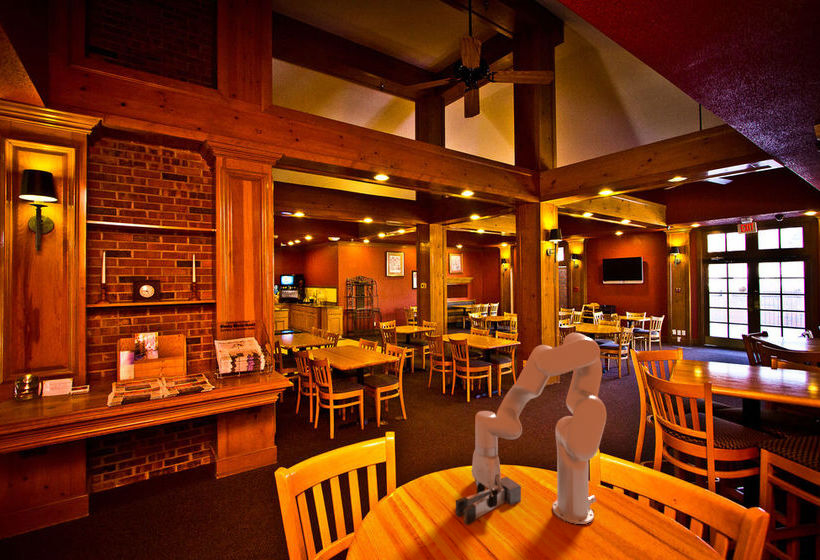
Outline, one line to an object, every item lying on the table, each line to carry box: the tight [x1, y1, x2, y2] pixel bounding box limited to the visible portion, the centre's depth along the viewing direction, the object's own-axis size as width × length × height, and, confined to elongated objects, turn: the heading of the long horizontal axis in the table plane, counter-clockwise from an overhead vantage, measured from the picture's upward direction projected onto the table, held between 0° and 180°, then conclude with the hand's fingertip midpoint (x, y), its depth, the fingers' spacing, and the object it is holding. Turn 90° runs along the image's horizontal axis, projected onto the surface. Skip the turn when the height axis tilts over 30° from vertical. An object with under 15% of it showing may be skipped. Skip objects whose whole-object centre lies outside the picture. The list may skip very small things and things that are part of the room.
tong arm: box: [463, 489, 505, 526], centre depth 124 cm, size 19×1×5 cm, turn 128°
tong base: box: [455, 476, 522, 518], centre depth 128 cm, size 24×7×6 cm, turn 119°
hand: (486, 501), depth 128 cm, fingers open, 5 cm apart
